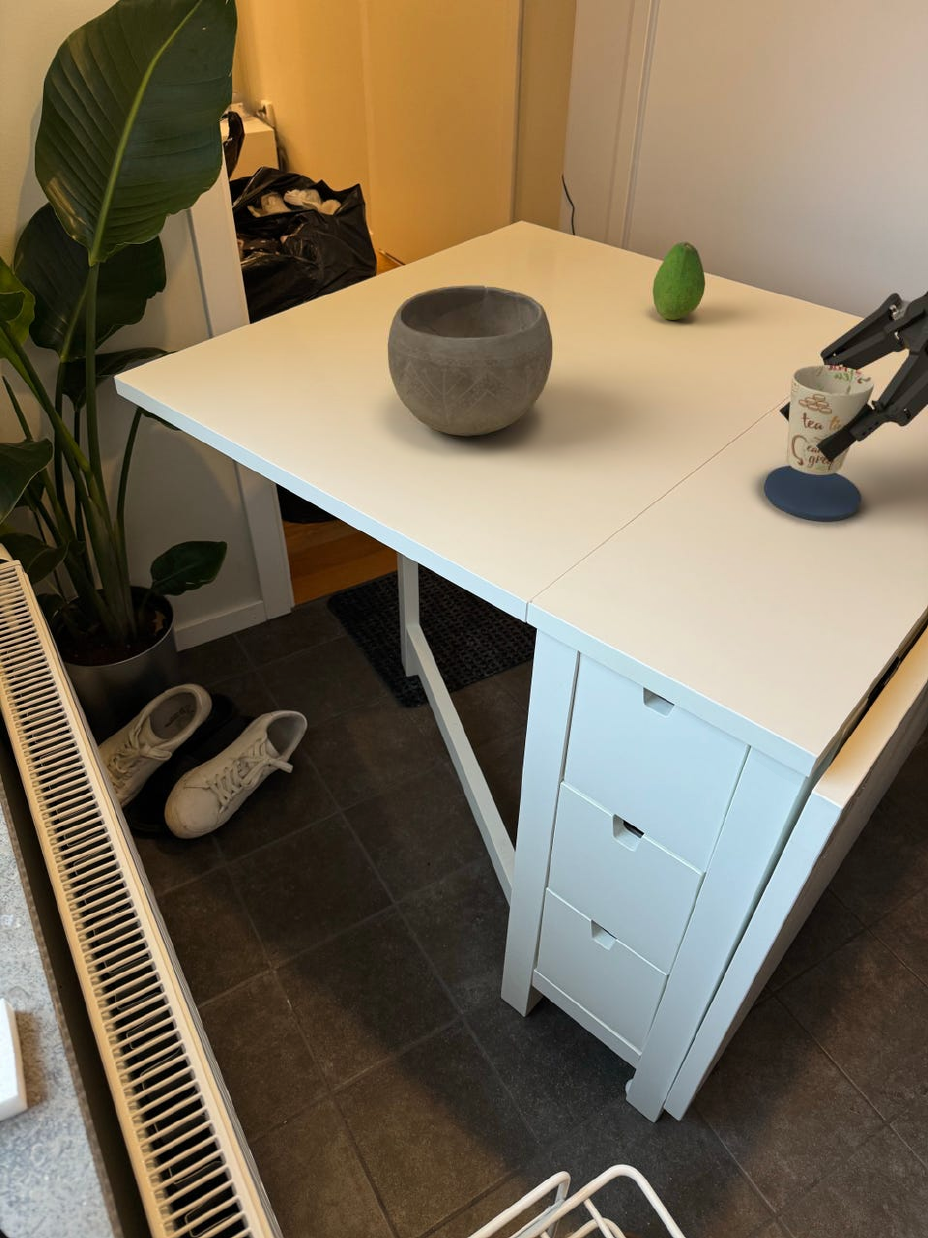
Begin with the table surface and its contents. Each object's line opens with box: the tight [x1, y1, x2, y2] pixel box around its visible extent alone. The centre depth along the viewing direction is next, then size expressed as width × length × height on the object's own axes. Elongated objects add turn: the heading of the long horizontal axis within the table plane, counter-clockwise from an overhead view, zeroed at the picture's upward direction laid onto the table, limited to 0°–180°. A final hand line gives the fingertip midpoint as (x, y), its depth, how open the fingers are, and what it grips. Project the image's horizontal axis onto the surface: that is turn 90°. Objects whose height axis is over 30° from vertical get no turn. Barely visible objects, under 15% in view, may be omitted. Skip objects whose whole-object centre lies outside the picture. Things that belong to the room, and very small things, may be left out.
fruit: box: [652, 241, 706, 321], centre depth 141 cm, size 8×8×12 cm
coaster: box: [763, 465, 862, 522], centre depth 106 cm, size 11×11×1 cm
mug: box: [786, 364, 875, 475], centre depth 100 cm, size 8×13×10 cm, turn 133°
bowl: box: [387, 285, 553, 437], centre depth 114 cm, size 21×21×15 cm
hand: (804, 435), depth 100 cm, fingers closed on mug, 7 cm apart
